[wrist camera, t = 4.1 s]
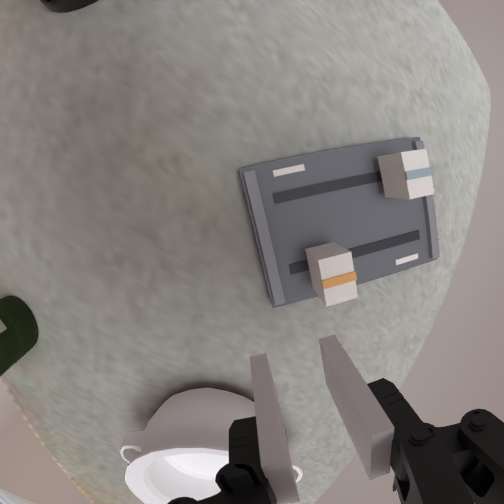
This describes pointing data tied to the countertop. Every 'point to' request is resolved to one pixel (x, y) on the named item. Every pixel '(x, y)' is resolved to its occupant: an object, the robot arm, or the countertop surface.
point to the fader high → (406, 174)
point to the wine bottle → (15, 331)
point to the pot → (186, 446)
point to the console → (335, 216)
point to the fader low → (332, 273)
